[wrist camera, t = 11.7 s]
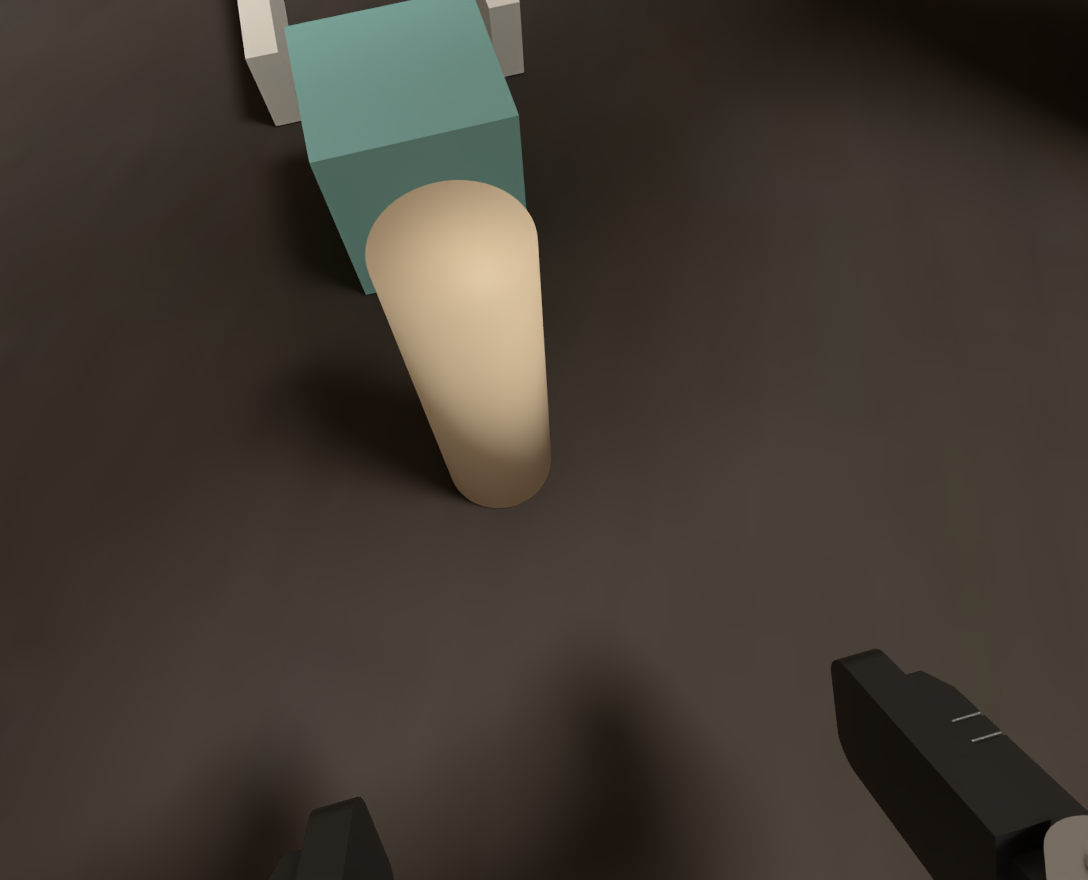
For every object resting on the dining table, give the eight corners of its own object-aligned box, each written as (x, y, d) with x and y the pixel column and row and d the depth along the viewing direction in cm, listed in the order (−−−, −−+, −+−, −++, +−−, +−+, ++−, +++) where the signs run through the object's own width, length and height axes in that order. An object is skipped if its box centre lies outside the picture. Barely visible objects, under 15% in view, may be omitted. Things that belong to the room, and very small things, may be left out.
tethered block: (490, 139, 28) (452, -162, 19) (607, 480, 22) (633, 273, 13) (340, 173, 28) (227, -119, 18) (416, 533, 21) (302, 356, 12)
